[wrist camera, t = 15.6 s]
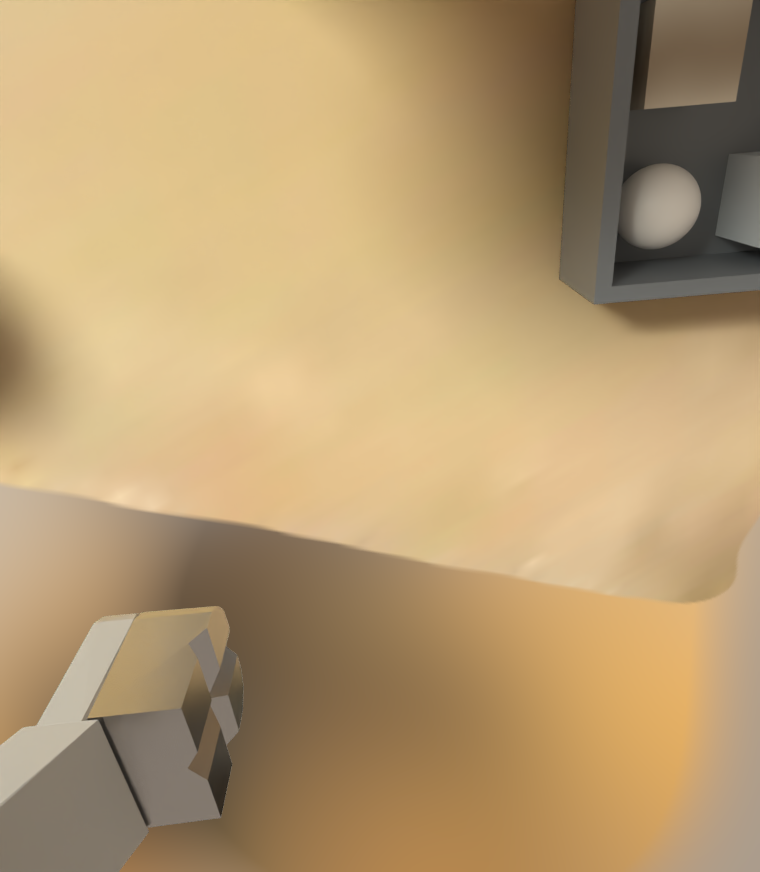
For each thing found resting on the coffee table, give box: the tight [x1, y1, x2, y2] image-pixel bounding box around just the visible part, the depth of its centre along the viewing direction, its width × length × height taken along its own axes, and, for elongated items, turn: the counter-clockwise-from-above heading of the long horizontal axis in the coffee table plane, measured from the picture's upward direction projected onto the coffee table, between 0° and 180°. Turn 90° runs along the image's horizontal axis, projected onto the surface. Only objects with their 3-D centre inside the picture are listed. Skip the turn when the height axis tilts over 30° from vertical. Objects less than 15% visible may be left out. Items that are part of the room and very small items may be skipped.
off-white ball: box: [618, 163, 701, 249], centre depth 30 cm, size 4×4×4 cm
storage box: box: [559, 0, 760, 304], centre depth 28 cm, size 14×14×6 cm
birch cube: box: [630, 0, 753, 110], centre depth 27 cm, size 4×4×4 cm
